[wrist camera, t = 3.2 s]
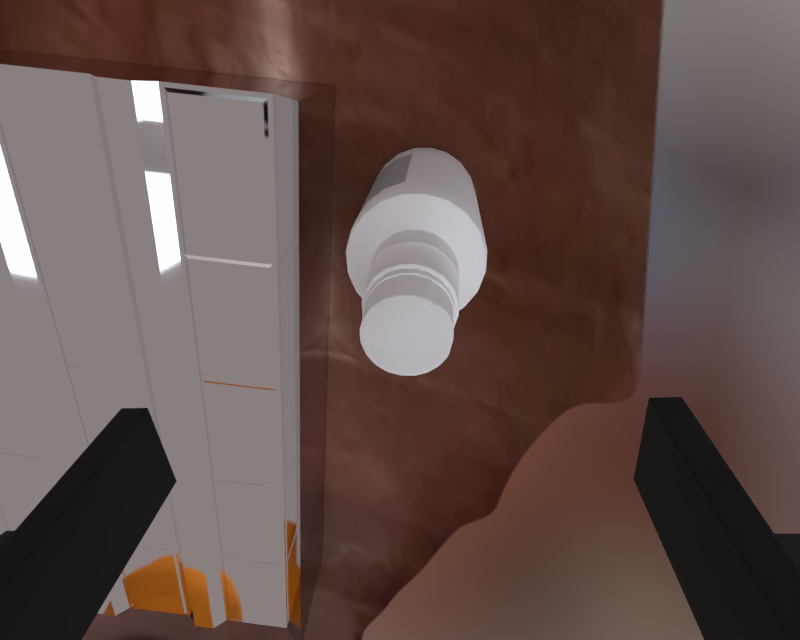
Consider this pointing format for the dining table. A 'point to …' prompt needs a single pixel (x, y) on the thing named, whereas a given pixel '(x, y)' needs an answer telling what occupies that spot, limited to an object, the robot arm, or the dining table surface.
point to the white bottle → (416, 259)
